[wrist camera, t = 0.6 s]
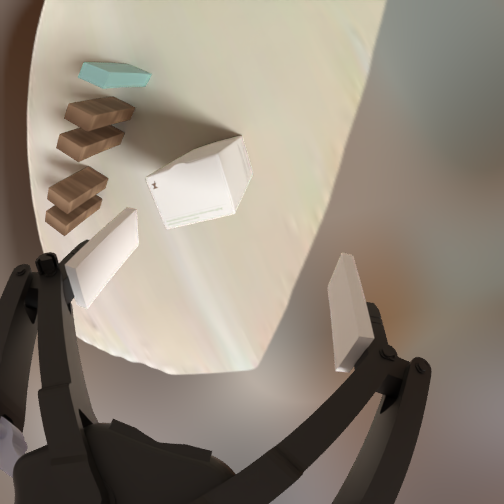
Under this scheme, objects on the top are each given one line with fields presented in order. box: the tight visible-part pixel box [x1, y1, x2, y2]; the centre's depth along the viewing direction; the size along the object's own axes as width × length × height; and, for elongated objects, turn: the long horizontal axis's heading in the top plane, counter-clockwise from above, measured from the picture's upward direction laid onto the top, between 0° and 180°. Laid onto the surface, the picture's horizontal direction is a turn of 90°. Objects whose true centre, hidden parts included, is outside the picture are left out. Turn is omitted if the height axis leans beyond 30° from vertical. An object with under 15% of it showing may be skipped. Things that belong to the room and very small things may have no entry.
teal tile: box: [78, 62, 152, 89], centre depth 28 cm, size 2×5×11 cm, turn 58°
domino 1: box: [64, 97, 135, 131], centre depth 31 cm, size 2×5×11 cm, turn 58°
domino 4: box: [45, 195, 102, 236], centre depth 40 cm, size 2×5×11 cm, turn 58°
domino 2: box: [56, 125, 125, 162], centre depth 33 cm, size 2×5×11 cm, turn 58°
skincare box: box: [145, 136, 253, 230], centre depth 32 cm, size 8×7×16 cm
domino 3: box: [47, 167, 108, 214], centre depth 38 cm, size 2×5×11 cm, turn 58°
